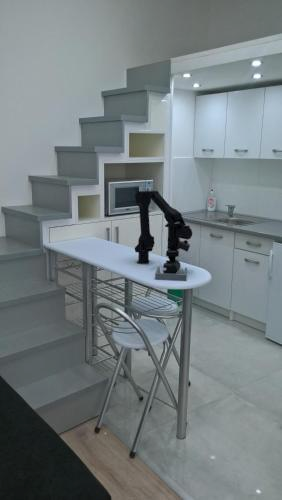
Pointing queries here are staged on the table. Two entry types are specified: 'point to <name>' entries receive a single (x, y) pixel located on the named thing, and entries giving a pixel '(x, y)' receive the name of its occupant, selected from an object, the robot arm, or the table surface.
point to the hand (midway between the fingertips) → (172, 265)
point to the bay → (170, 275)
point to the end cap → (171, 267)
